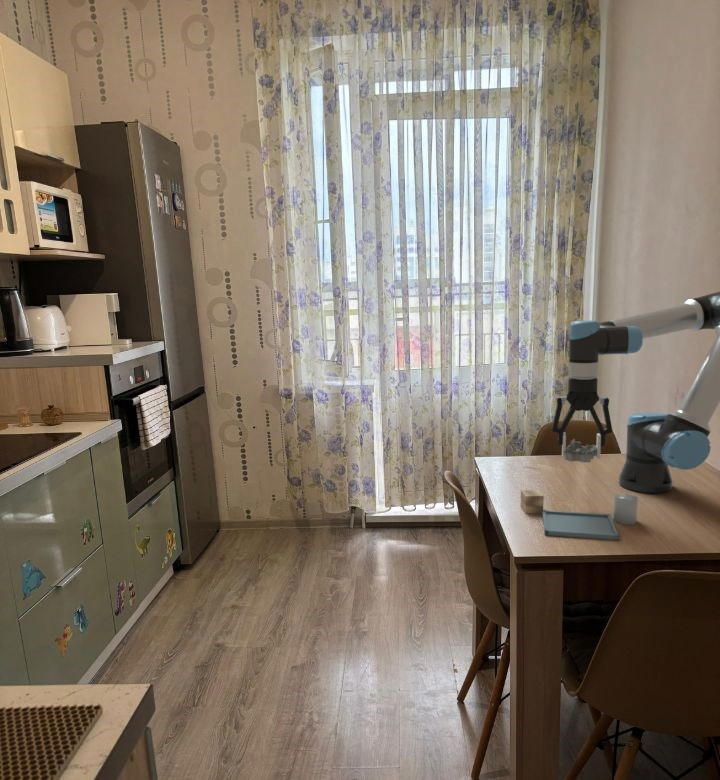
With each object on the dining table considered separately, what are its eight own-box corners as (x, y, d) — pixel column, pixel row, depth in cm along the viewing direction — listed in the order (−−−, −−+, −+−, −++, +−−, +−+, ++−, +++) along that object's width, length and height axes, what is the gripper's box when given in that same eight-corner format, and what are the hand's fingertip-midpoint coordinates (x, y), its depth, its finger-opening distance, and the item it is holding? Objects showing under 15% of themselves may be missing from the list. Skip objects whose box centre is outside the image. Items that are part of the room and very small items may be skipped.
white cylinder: (634, 517, 163) (635, 494, 162) (638, 525, 158) (639, 501, 157) (612, 516, 164) (613, 493, 163) (615, 523, 159) (616, 500, 158)
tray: (609, 518, 163) (610, 514, 163) (618, 540, 149) (619, 535, 149) (542, 514, 167) (542, 510, 167) (544, 535, 153) (544, 530, 153)
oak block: (537, 506, 173) (538, 489, 172) (543, 512, 168) (543, 495, 168) (520, 507, 173) (520, 490, 172) (525, 513, 168) (525, 496, 168)
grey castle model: (573, 451, 176) (573, 438, 175) (599, 455, 171) (600, 441, 171) (561, 460, 167) (561, 446, 167) (589, 464, 163) (589, 449, 162)
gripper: (622, 375, 166) (619, 454, 170) (542, 375, 171) (540, 451, 175) (627, 379, 159) (623, 461, 163) (543, 379, 164) (542, 458, 168)
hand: (580, 456), depth 169 cm, fingers closed on grey castle model, 8 cm apart
